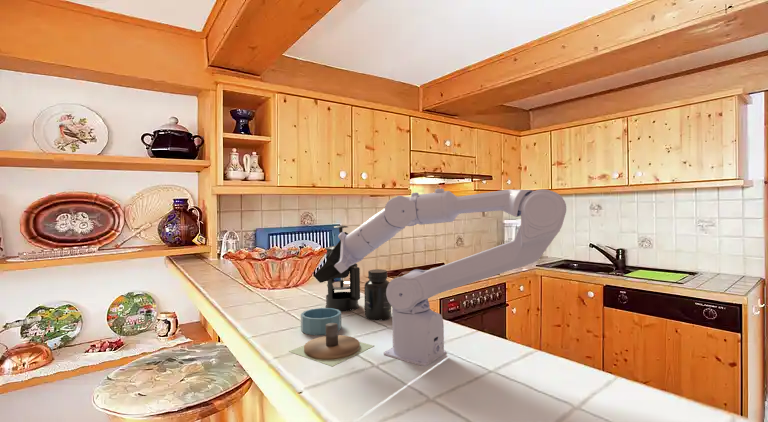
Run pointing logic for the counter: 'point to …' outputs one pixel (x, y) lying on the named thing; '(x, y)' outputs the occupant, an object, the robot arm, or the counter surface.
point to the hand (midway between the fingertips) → (323, 269)
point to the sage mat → (335, 361)
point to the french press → (344, 299)
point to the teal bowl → (319, 320)
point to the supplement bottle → (377, 296)
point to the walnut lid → (331, 345)
